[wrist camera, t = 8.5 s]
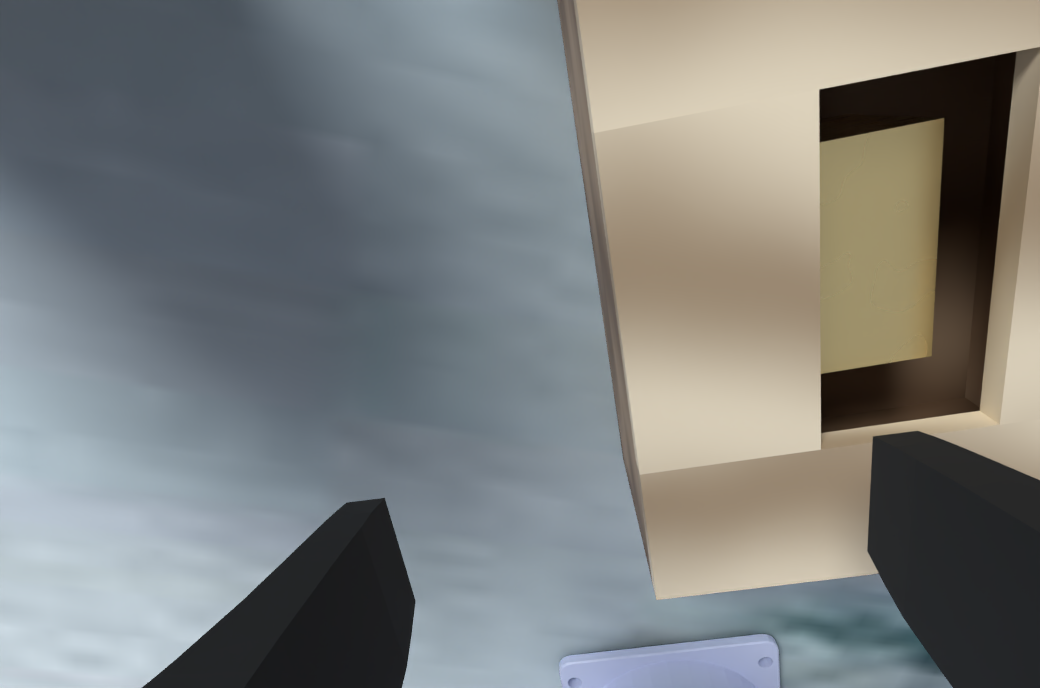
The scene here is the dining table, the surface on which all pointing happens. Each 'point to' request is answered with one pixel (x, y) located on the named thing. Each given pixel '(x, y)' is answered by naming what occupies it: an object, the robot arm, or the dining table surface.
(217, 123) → the dining table surface
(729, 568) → the box
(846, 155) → the tan wooden block
